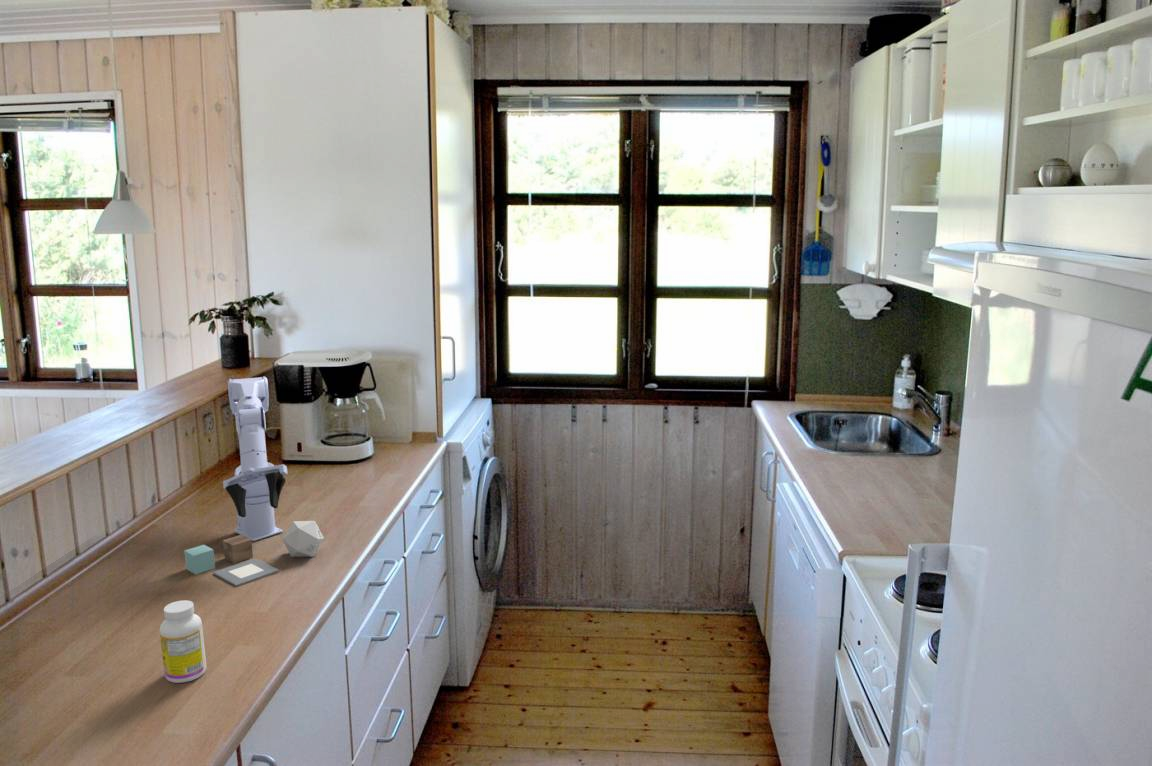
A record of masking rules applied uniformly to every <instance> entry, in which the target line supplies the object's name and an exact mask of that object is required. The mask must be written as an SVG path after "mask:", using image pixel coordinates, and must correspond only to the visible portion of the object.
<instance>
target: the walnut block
mask: <svg viewBox="0 0 1152 766" xmlns="http://www.w3.org/2000/svg"><path fill="white" fill-rule="evenodd" d="M252 542H253V541H252V540H251V539H249V538H247V537H245V536H243V535H240V534H238V535H237V536H233V537H230V538H226V539H223V540H222V544H223V555H224V559H225V560H227V561H229V562H231V563H233V565H236V564H239V563H242V562H245V561H248V560H251V559H254V554H253V544H252Z"/></svg>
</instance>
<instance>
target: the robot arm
mask: <svg viewBox="0 0 1152 766" xmlns="http://www.w3.org/2000/svg"><path fill="white" fill-rule="evenodd" d="M268 381H269V380H268V378H267V377H266V376H264V375H263V376H260V377H247V378H234V379H233V378H229V379H228V380H227V391H228V392H227V393H228V401H229V408H230V410H231V414H232V415H234V418H235V428H236V432H237V437H238V442H239V444H238V445H239V456H240V465H238V467H236V468H235V471H234V476H233V477H230V478H228V479H225V480H223V481H222V486H223V487H222V488H223V489H224V490H225V491H226V492H227V493H228V495H229V496H230V498H231V499H232V502H233V503H234V506H235V509H236V512H235V513H236V523H237V529H235V530H234V533H235V534H238V535H243V536H245V537H247V538H249V539H251V542H256V541H259V540H261V539H262V540H263V539H265V538H268V537H271V536H275V535H278V534H280V533H283V531H284V530H283V529H281V528H279V527H277V526H276V520H275V518H276V517H275V509H278V508H279V501H280V497H281V492H282V490H283V488H284V485H285V484H286V478H284V476H287V475H288V466H287V465H285V464H278V465H274V464H273V463H271V462H268V456H267V445H266V434H265V433H266V429H267V424H266V423H267V422H266V415H265V414H266V412H268V411H269V406H270V403H269V402H270V400H269V398H270V393H269V382H268Z"/></svg>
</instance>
